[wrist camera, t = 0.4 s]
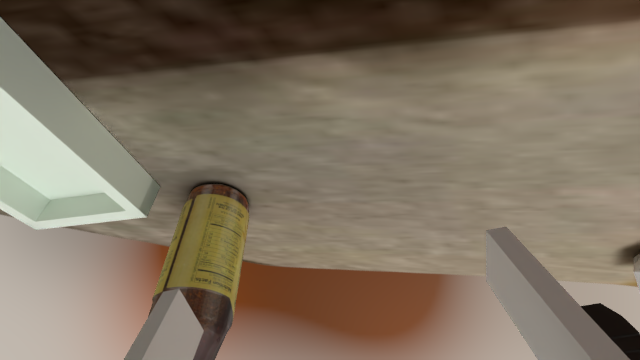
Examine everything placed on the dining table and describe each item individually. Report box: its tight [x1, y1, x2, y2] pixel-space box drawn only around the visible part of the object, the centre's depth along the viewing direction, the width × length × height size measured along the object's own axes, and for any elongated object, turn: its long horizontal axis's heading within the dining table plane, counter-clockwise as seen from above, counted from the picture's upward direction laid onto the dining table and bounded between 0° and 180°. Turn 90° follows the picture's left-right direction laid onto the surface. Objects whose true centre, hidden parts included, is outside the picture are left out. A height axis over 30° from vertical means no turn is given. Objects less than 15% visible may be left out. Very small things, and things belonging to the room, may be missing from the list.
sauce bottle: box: [148, 184, 249, 360], centre depth 25 cm, size 6×6×20 cm
